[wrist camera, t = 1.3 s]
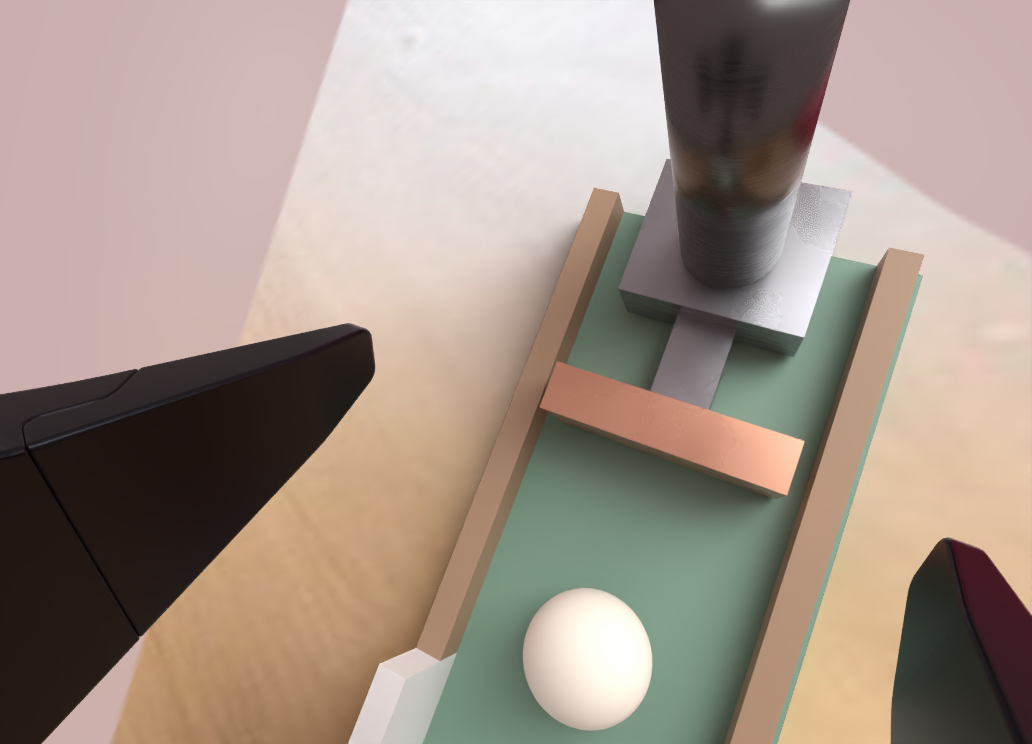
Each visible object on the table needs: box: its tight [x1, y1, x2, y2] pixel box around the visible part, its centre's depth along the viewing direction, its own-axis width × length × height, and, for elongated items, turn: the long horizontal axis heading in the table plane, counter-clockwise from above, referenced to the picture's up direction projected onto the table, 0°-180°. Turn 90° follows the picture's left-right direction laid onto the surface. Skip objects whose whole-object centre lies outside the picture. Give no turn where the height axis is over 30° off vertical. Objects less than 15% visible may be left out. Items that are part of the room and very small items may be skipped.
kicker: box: [540, 0, 853, 500], centre depth 16 cm, size 10×8×13 cm
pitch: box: [416, 188, 924, 744], centre depth 21 cm, size 24×12×2 cm, turn 158°
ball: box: [523, 588, 652, 731], centre depth 19 cm, size 4×4×4 cm
